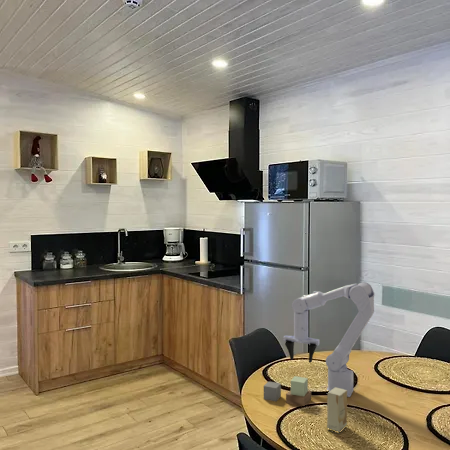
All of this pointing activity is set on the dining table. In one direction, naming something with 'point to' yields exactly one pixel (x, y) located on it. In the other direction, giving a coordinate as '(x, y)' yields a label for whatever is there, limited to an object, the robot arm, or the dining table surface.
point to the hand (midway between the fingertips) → (301, 360)
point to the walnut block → (298, 399)
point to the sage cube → (299, 386)
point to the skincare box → (337, 409)
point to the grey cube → (272, 391)
